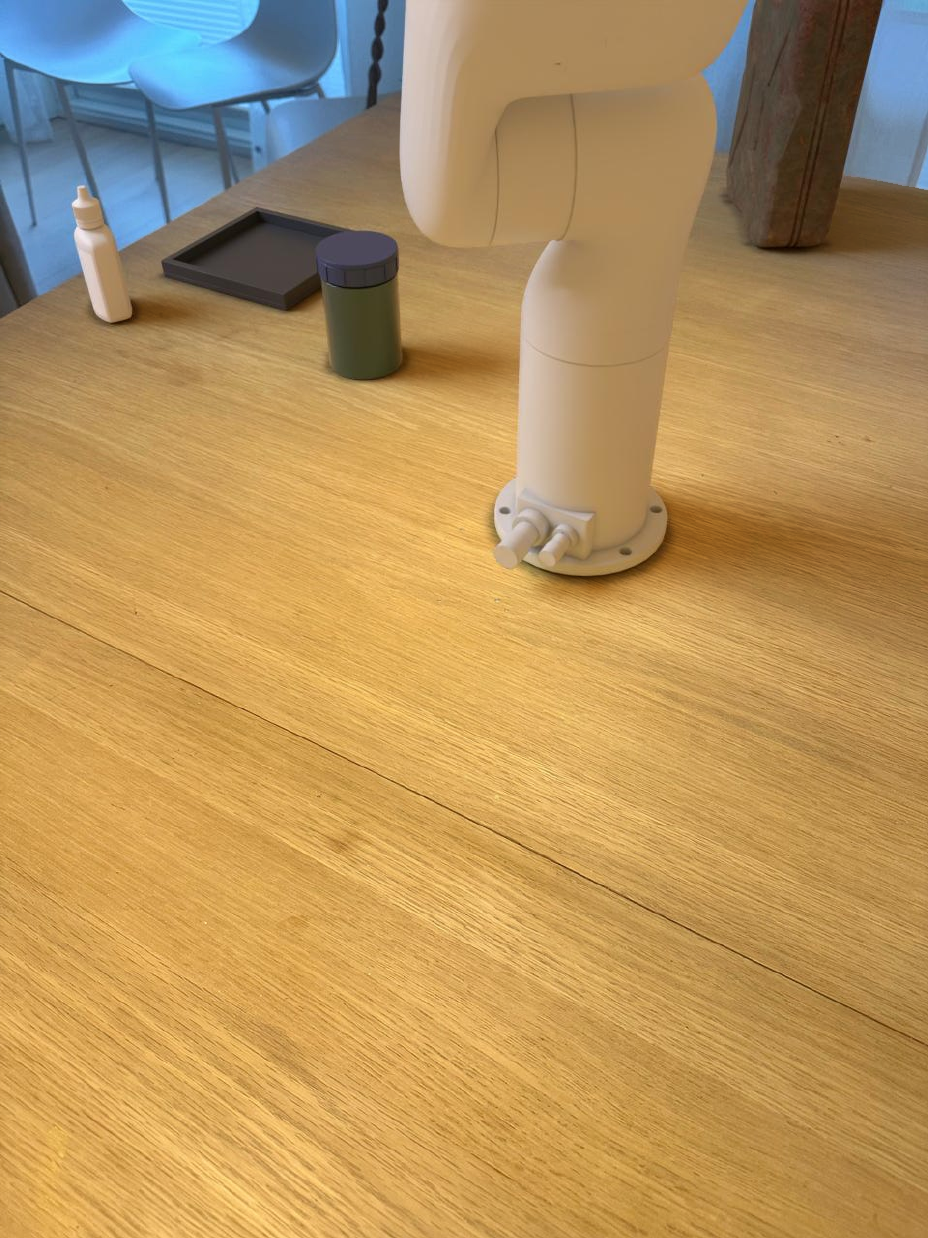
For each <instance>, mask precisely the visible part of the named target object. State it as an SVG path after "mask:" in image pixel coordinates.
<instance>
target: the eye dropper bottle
mask: <svg viewBox="0 0 928 1238" xmlns="http://www.w3.org/2000/svg"><path fill="white" fill-rule="evenodd" d="M76 189H77V191H76V192H77V198H76V199H75V200H73V201H72V202H71V208H72V211H73V215H74V220H75V222H76V227H75V229H74V233H73V237H74V238H73V239H74V242H75V243H74V244H75V247H76V250H77V254H78V257H79V262H80V265H81V268H82V272H83V276H84V280H85V284H86V287H87V291H88V294H89V298H90V302H91V305H92V308H93V311H94V313H95V315H96V316H97V317H98V318H99V319H100V320H102V321H104V322H107V323H111V324H113V323H117V322H122V321H125V320H128V319H131V317H132V315H133V307H132V302H131V299H130V294H129V290H128V286H127V282H126V278H125V274H124V270H123V266H122V262H121V258H120V253H119V249H118V246H117V241H116V238H115V236H114V233H113V232H112V230H111V229H110V227H109V226H108V225H107V224H106V223H105V219H104V215H103V211H102V207H101V204H100V200H99V199H98V198H96V197H92V196H90V194H89V192H88V189H87V187H86V185H82V184H81V185H78V186H77V187H76Z"/></svg>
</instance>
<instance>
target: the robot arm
mask: <svg viewBox="0 0 928 1238" xmlns="http://www.w3.org/2000/svg"><path fill="white" fill-rule="evenodd" d="M749 1H750V0H405V15H404V18H405V19H404V35H403V36H404V38H403V55H402V57H403V58H402V79H401V80H402V81H401V98H400V99H401V100H400V101H401V102H400V122H399V168H400V179H401V186H402V191H403V197H404V201H405V204H406V207H407V211H408V213H409V215H410V217H411V219H412V222H413V223H414V225H415V227H416V228H417V229H418V230H419V231H420V232H421V234H422V235H424V236H425V237H426V238H427V239H429V240H430V241H431V242H434V243H435V244H437V245H441V246H444V247H448V248H456V249H457V248H459V249H462V248H463V249H464V248H465V249H466V248H467V249H469V248H482V247H483V248H484V247H496V246H505V245H507V246H509V245H516V244H517V245H518V244H529V243H538V242H548V244H547V246H546V247H545V248H544V250H543V251H542V253H541V255H540V256H539V258H538V259H537V261H536V263H535V265H534V267H533V269H532V271H531V273H530V275H529V278H528V281H527V283H526V286H525V289H524V293H523V297H522V302H521V310H520V311H521V312H520V313H521V316H520V319H521V320H520V339H519V341H520V342H519V371H518V372H519V374H518V375H519V377H518V379H519V380H518V405H517V406H518V408H517V410H518V411H517V414H518V415H517V442H516V443H517V445H516V473H515V474H516V476H515V477H514V478H512V479H511V480H509V481H508V482H507V483H506V484H505V486H503V488H502V489H501V490H500V491H499V493H498V495H497V498H496V499H495V505H494V509H493V512H494V513H493V520H494V521H493V524H494V527H495V531H496V534H497V536H498V537H499V539H500V542H499V543H498V544H497V545H496V547H495V548H494V549H493V558H494V559H495V561H496V563H497V564H498V565H499V566H500V567H502V568H504V569H507V570H514V569H516V568H517V567H518V566H519V565H520V563H521V562H522V561H523V562H526V563H528V564H531V565H532V566H534V567H536V568H539V569H542V570H546V571H548V572H552V573H556V574H561V575H567V576H577V577H578V576H579V577H580V576H581V577H592V576H604V575H610V574H614V573H615V574H616V573H620V572H623V571H625V570H628V569H630V568H633V567H636V566H638V565H639V564H641V563H643V562H645V561H646V560H648V559H649V558H650V557H651V556H652V555H653V554H655V553H656V552H657V550H658V549H659V548H660V546H661V545H662V544H663V542H664V540H665V536H666V533H667V527H668V518H669V517H668V510H667V507H666V505H665V503H664V500H663V498H662V497H661V495H660V494H659V493H658V491H657V490H656V489H655V488H653V486H651V482H652V475H653V469H654V468H653V467H654V459H655V452H656V446H657V438H658V431H659V425H660V417H661V408H662V401H663V394H664V387H665V380H666V372H667V365H668V357H669V351H670V342H671V337H672V332H673V324H674V317H675V311H676V304H677V303H676V302H677V297H678V291H679V285H680V279H681V273H682V270H683V269H682V268H683V264H684V259H685V254H686V250H687V247H688V243H689V239H690V236H691V232H692V229H693V228H692V227H693V226H694V222H695V219H696V216H697V212H698V209H699V206H700V203H701V201H702V199H703V194H704V191H705V189H706V186H707V183H708V179H709V176H710V172H711V168H712V164H713V160H714V157H715V156H714V155H715V150H716V143H717V136H718V135H717V134H718V115H717V107H716V102H715V98H714V94H713V92H712V90H711V87H710V85H709V83H708V81H707V79H706V78H705V76H704V75H703V73H702V72H703V71H705V70H706V69H707V68H709V67H710V66H711V65H712V64H714V63H715V62H716V61H717V59H718V58H719V57H720V56H721V54H722V53H723V52H724V50H726V47H727V46H728V44H729V42H730V41H731V40H732V38H733V36H734V33H736V30H737V28H738V26H739V23H740V22H741V20H742V17H743V15H744V12H745V10H746V8H747V6H748V3H749Z"/></svg>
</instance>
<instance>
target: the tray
mask: <svg viewBox="0 0 928 1238" xmlns="http://www.w3.org/2000/svg"><path fill="white" fill-rule="evenodd" d="M348 231H356V230H354V229H350V228H346V227H341V226H337V225H334V224H330V223H325V222H321V221H317V220H313V219H308V218H305V217H300V216H296V215H292V214H288V213H284V212H280V211H276V210H272V209H268V208H263V207H259V206H255V207H254V208H252V209H250V210H248V211H246V212H245V213H243V214H241V215H239V216H238V217H235V218H234V219H233V220H231V221H229V222H227V223H225V224H224V225H222V226H220V227H218V228H216V229H214V230H213V231H211V232H210V233H208V234H206V235H204V236H202V237H200V238H199V239H197V240H195V241H193V242H191V243H190V244H188V245H186V246H184V247H182V248H180V249H179V250H177V251H175V252H173V253H172V254H170V255H169V256H166V257H165V258H163V259H161V260H160V262H161V266H162V267H161V268H162V271H163V275H164V277H166V278H170V279H173V280H176V281H181V282H184V283H187V284H190V285H193V286H197V287H201V288H204V289H208V290H210V291H211V290H212V291H216V292H218V293H222V294H225V295H229V296H232V297H236V298H239V299H243V300H246V301H250V302H254V303H258V304H260V305H265V306H268V307H271V308H275V309H278V310H282V311H288V310H289V309H291V308H293V307H294V306H295V305H297V304H298V303H300V302H301V301H303V300H304V299H306V298H307V297H309V296H310V295H312V294H313V293H314V292H316V291H317V290H318V289H320V288H321V280H320V275H319V273H317V264H316V258H317V257H316V247H317V245H318V244H319V243H320V242H321V241H322V240H323V239H325V238H327V237H329V236H331V235H334V234H338V233H342V232H348Z"/></svg>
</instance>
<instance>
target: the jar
mask: <svg viewBox="0 0 928 1238" xmlns="http://www.w3.org/2000/svg"><path fill="white" fill-rule="evenodd" d="M320 280H321V287H320V288H321V289H320V290H321V296H322V297H321V298H322V307H323V315H324V316H323V317H324V325H325V326H324V327H325V334H326V335H325V336H326V343H327V352H328V361H329V367H330V368H331V369H332V371H334V373H336V374H337V375H339V376H341V377H344V378H347V379H352V380H362V381H363V380H364V381H365V380H375V379H379V378H383V377H385V376H389V375H391V374H393V373H394V372H396V371H397V370H399V368H400V367H401V365H402V364H403V360H404V357H403V341H402V339H403V338H402V323H401V322H402V321H401V307H400V289H399V288H400V286H399V271H398V272H397V274H396V275H395V276H394V277H392V278H391V279H389V280H388V281H385V282H383V283H380V284H376V285H372V286H365V287H344V286H338V285H334V284H331V283H329V282H327V281H325V280H324V279H322V278H321V277H320Z"/></svg>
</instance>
